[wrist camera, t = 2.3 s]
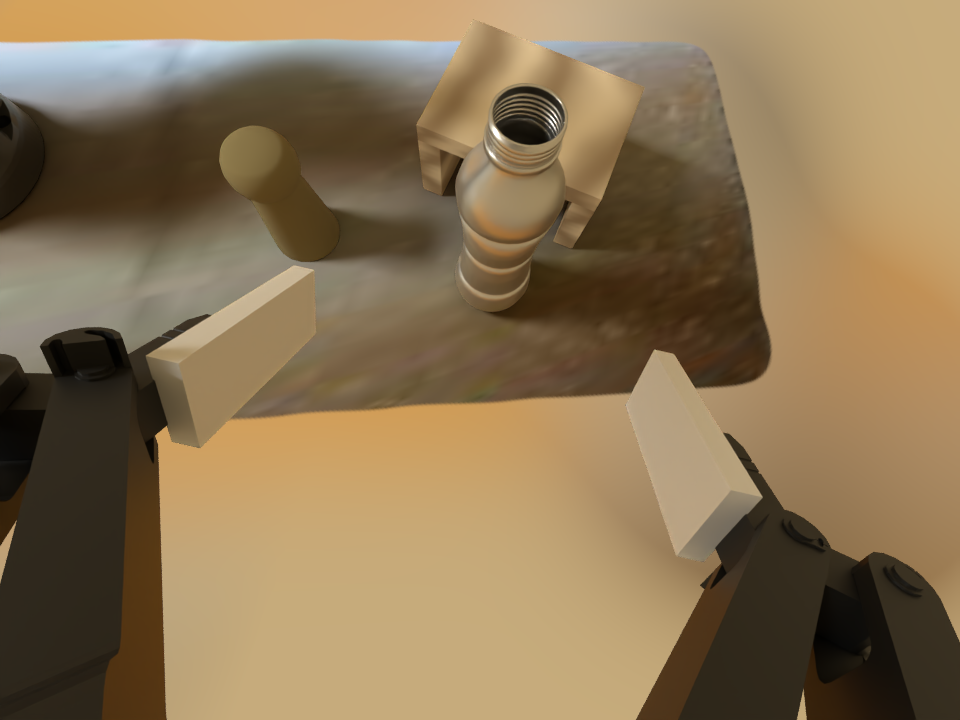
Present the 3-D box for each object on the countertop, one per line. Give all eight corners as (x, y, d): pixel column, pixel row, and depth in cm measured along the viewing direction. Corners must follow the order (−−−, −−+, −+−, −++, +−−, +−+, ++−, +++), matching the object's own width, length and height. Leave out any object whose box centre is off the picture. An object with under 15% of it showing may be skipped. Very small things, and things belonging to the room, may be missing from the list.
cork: (351, 219, 38) (311, 131, 27) (320, 271, 37) (265, 200, 26) (295, 195, 38) (233, 97, 27) (262, 246, 37) (184, 164, 26)
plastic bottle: (531, 312, 37) (617, 166, 18) (461, 324, 36) (470, 185, 17) (516, 250, 38) (582, 50, 19) (448, 261, 38) (444, 64, 18)
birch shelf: (423, 188, 39) (416, 124, 31) (469, 98, 42) (473, 19, 34) (571, 248, 39) (601, 199, 31) (608, 154, 41) (644, 87, 34)
